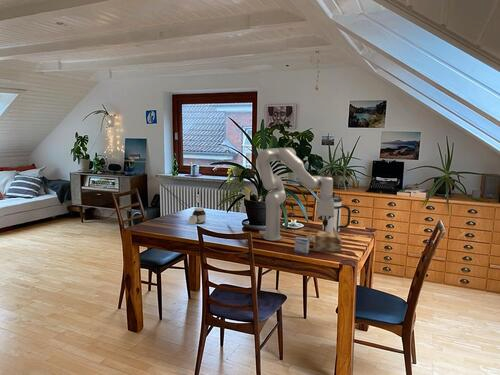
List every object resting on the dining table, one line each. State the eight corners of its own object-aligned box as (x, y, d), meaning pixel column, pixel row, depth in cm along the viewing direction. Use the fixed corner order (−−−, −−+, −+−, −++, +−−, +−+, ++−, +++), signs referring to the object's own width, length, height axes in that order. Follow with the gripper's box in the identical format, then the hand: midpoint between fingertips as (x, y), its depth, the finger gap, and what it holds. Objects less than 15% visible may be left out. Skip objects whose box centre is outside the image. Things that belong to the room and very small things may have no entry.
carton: (304, 252, 213) (305, 241, 212) (307, 240, 236) (307, 230, 235) (341, 255, 209) (342, 244, 208) (339, 242, 232) (340, 232, 231)
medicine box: (294, 252, 213) (294, 238, 211) (296, 249, 217) (296, 236, 215) (306, 254, 210) (307, 240, 208) (308, 252, 214) (309, 238, 212)
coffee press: (329, 237, 242) (332, 194, 237) (316, 231, 257) (318, 190, 252) (349, 235, 250) (352, 193, 245) (335, 229, 264) (337, 189, 259)
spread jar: (206, 221, 276) (206, 207, 274) (203, 225, 265) (203, 210, 263) (191, 221, 277) (191, 206, 275) (187, 225, 266) (187, 209, 264)
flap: (341, 243, 214) (333, 232, 214) (340, 237, 226) (333, 227, 226) (342, 243, 213) (333, 232, 214) (341, 237, 225) (333, 227, 225)
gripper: (313, 197, 215) (312, 227, 218) (338, 198, 212) (337, 228, 215) (313, 195, 222) (313, 224, 225) (338, 196, 219) (337, 225, 222)
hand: (325, 226), depth 220 cm, fingers closed
